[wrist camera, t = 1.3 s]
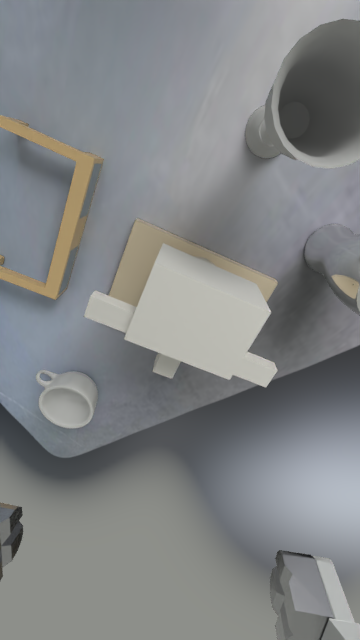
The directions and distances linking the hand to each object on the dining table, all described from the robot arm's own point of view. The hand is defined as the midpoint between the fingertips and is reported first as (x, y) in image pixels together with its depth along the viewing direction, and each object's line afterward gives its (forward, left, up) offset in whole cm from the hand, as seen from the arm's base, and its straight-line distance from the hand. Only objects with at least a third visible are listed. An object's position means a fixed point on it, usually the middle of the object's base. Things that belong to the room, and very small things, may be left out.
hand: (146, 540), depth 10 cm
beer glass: (-8, +16, -34) cm, 38 cm away
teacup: (+25, -8, -34) cm, 43 cm away
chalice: (-16, +3, -34) cm, 38 cm away
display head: (+5, +2, -34) cm, 34 cm away
